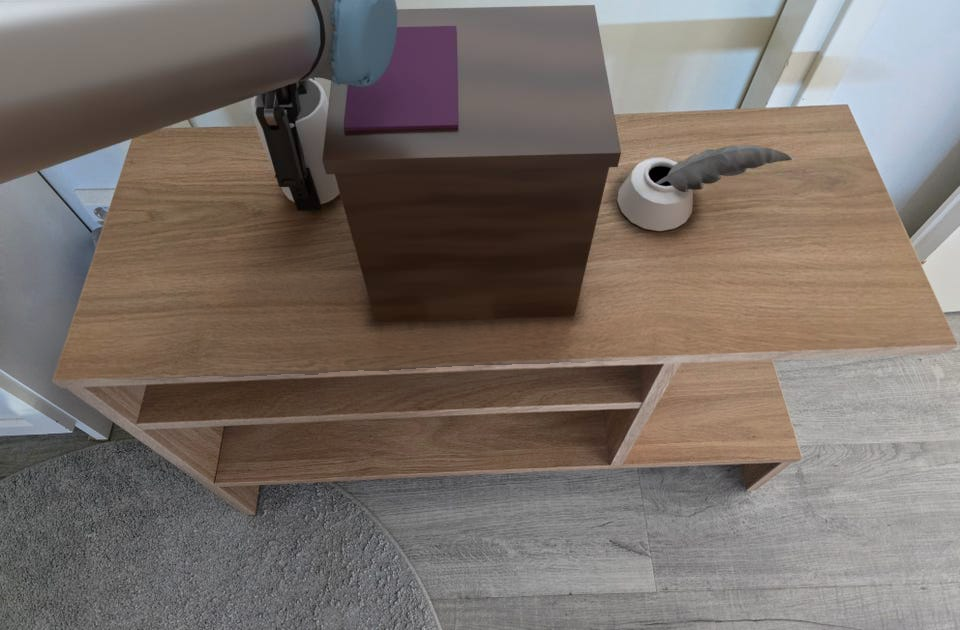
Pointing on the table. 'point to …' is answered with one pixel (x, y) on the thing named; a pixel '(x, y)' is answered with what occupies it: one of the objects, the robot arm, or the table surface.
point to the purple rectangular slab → (410, 85)
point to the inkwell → (683, 183)
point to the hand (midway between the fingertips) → (313, 178)
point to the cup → (308, 138)
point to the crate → (485, 173)
